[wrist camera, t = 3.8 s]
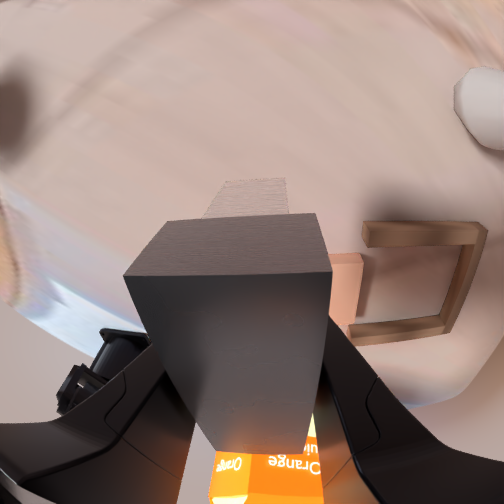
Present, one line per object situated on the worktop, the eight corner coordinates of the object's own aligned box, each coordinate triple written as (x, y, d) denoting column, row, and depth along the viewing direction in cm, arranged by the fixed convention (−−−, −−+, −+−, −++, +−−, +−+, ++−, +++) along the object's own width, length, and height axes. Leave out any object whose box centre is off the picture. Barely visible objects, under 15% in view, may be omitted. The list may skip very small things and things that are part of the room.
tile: (282, 313, 23) (282, 327, 22) (279, 253, 20) (278, 266, 19) (350, 309, 22) (353, 323, 21) (357, 249, 19) (363, 262, 18)
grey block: (236, 334, 13) (216, 451, 7) (210, 174, 9) (123, 275, 4) (300, 333, 12) (302, 454, 7) (299, 168, 9) (333, 271, 3)
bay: (346, 333, 23) (349, 346, 22) (363, 221, 18) (369, 231, 16) (444, 322, 22) (449, 332, 20) (477, 221, 16) (488, 230, 15)
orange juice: (293, 399, 30) (286, 548, 13) (228, 378, 28) (198, 544, 11) (334, 368, 26) (344, 549, 9) (262, 342, 25) (238, 558, 7)
